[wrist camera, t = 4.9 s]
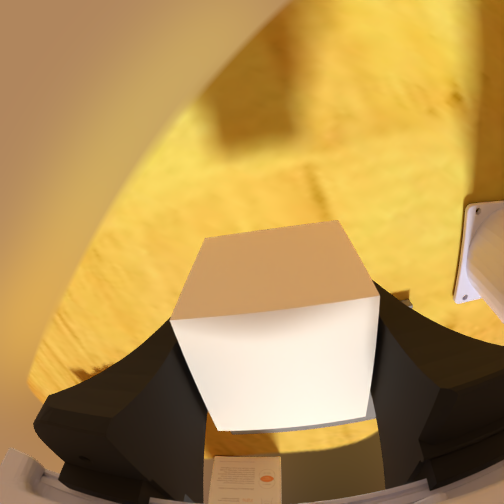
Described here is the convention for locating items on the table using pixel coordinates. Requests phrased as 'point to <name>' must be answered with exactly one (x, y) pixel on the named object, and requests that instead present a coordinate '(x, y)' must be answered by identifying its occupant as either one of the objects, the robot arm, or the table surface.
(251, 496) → the small box
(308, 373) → the cube
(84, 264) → the table surface
